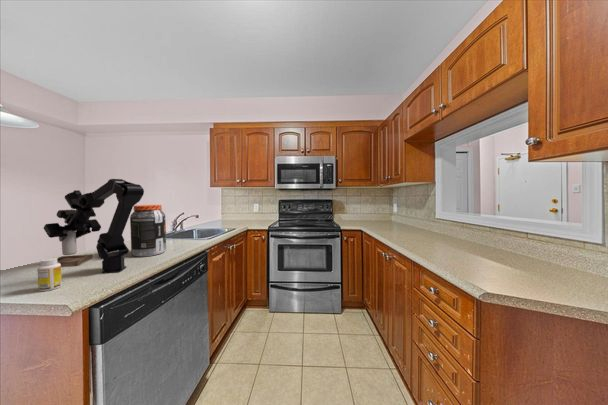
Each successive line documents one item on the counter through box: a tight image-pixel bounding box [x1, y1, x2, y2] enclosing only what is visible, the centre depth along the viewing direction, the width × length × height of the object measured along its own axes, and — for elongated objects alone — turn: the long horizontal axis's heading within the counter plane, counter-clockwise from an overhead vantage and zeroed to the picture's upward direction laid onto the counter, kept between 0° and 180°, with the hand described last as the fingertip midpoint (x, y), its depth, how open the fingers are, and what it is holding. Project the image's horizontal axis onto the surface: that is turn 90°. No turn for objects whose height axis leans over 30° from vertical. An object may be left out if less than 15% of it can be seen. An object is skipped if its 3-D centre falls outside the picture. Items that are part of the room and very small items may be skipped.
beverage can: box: [61, 231, 78, 256], centre depth 110 cm, size 5×5×12 cm
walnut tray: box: [56, 254, 94, 268], centre depth 111 cm, size 12×12×2 cm
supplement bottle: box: [36, 257, 63, 292], centre depth 82 cm, size 6×6×10 cm
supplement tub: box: [129, 204, 167, 257], centre depth 128 cm, size 16×16×26 cm
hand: (67, 239), depth 111 cm, fingers closed on beverage can, 5 cm apart
